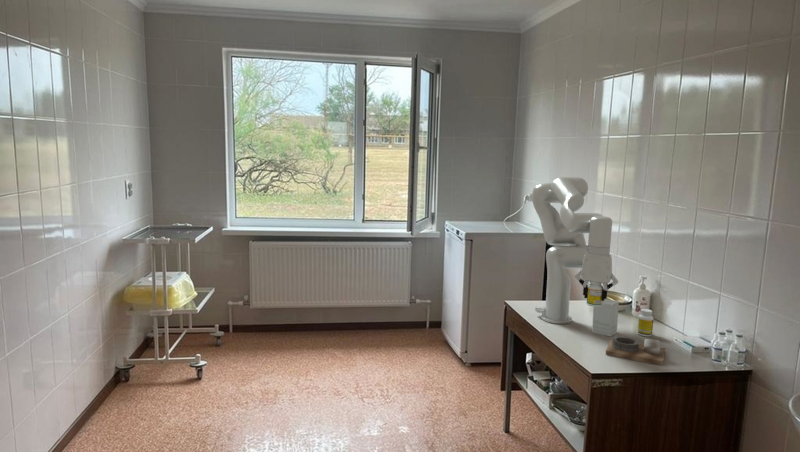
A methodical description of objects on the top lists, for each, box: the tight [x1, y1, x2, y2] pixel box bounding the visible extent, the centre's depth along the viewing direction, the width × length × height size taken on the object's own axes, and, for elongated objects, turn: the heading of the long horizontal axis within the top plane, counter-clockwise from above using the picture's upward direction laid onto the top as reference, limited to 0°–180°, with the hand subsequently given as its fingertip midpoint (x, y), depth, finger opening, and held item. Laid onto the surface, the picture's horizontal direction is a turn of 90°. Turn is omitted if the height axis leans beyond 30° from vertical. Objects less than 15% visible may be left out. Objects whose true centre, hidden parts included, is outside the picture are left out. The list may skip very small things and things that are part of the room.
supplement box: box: [591, 298, 620, 337], centre depth 207 cm, size 7×7×13 cm
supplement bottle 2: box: [636, 308, 655, 337], centre depth 205 cm, size 5×5×10 cm
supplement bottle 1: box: [586, 281, 604, 308], centre depth 192 cm, size 5×5×10 cm
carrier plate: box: [605, 336, 666, 366], centre depth 185 cm, size 18×14×6 cm
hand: (594, 298), depth 193 cm, fingers closed on supplement bottle 1, 5 cm apart
